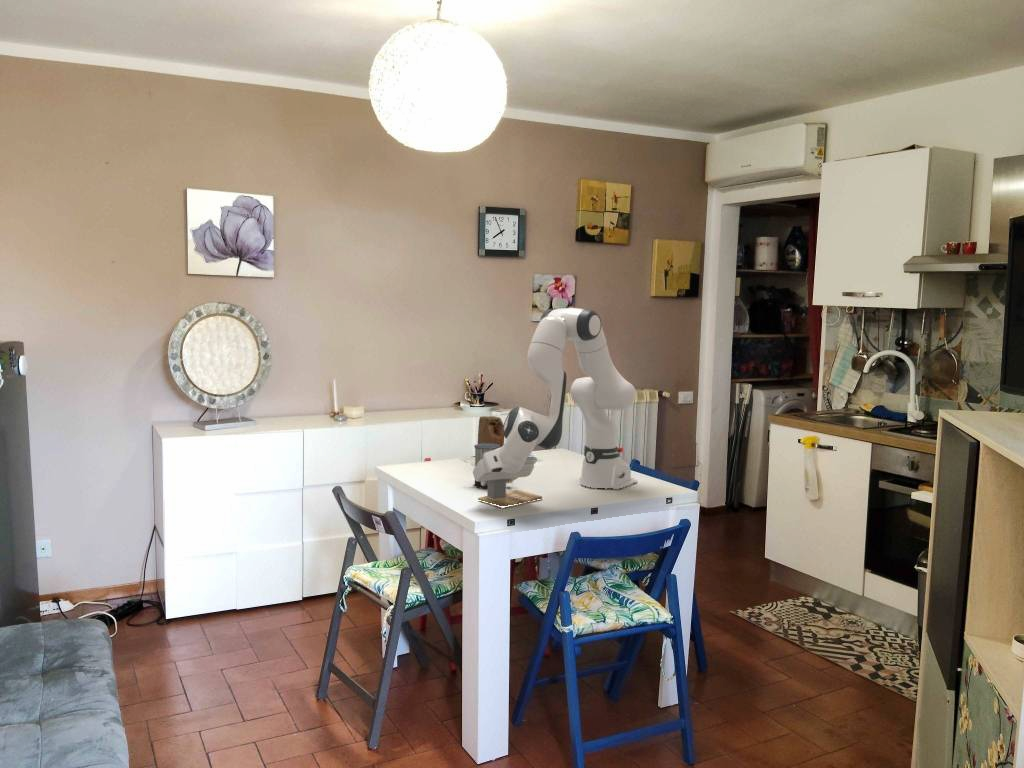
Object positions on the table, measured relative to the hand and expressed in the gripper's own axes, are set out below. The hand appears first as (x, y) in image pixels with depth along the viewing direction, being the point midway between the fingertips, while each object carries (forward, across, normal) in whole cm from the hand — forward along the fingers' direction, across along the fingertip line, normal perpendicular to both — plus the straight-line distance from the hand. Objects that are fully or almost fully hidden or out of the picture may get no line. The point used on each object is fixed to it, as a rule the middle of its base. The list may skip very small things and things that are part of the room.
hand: (495, 482), depth 271 cm
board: (+4, -5, +5) cm, 8 cm away
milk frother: (+21, -11, -12) cm, 27 cm away
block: (+40, -24, -31) cm, 56 cm away
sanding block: (+3, 0, +4) cm, 5 cm away
